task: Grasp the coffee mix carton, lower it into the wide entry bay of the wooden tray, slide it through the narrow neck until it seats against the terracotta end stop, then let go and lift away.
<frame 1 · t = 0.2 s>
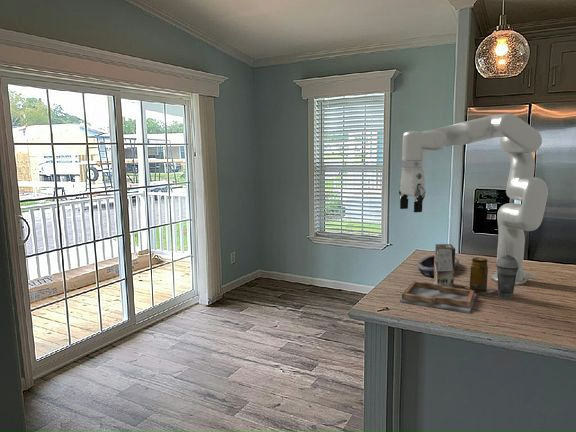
hand: (410, 210, 163), 30 cm above the counter, tool pointing down, fingers open, 9 cm apart
wooden tray: (440, 299, 155), on the counter
beverage cup: (505, 297, 156), on the counter
coffee box: (443, 286, 170), on the counter
condiment: (479, 290, 165), on the counter
dish: (438, 270, 193), on the counter
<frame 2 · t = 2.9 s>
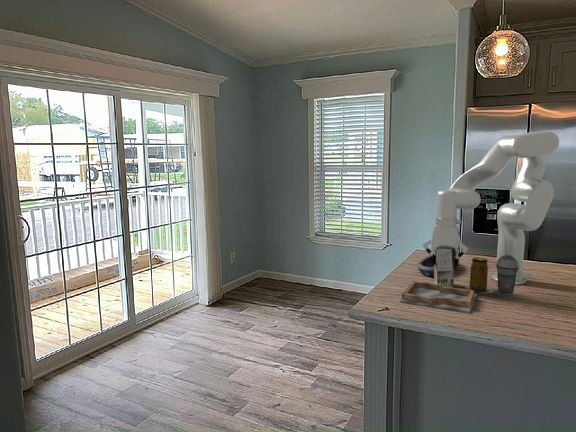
hand: (444, 266, 168), 8 cm above the counter, tool pointing down, fingers closed on coffee box, 7 cm apart
coffee box: (443, 286, 170), on the counter, touching gripper
everything else where it was.
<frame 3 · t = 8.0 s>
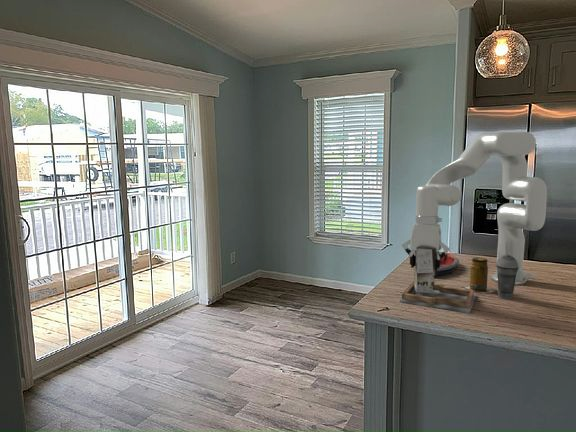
hand: (424, 267, 156), 11 cm above the counter, tool pointing down, fingers closed on coffee box, 7 cm apart
coffee box: (423, 289, 157), point 3 cm above the counter, touching gripper
everything else where it was.
when the fingers open (9 cm above the counter, at t = 12.9 s): coffee box stays where it is, resting on wooden tray.
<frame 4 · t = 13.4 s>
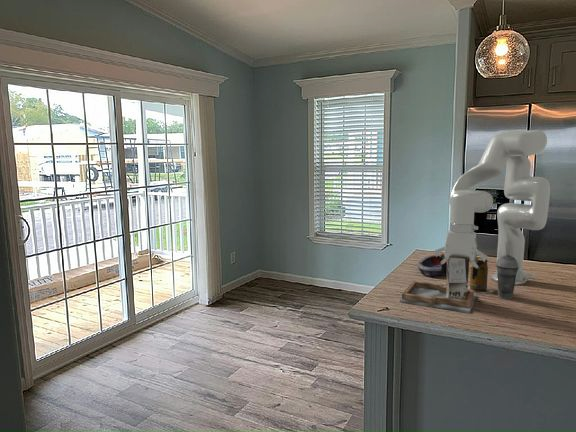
hand: (459, 276, 151), 9 cm above the counter, tool pointing down, fingers open, 9 cm apart
coffee box: (456, 299, 153), point 1 cm above the counter, touching wooden tray
everything else where it was.
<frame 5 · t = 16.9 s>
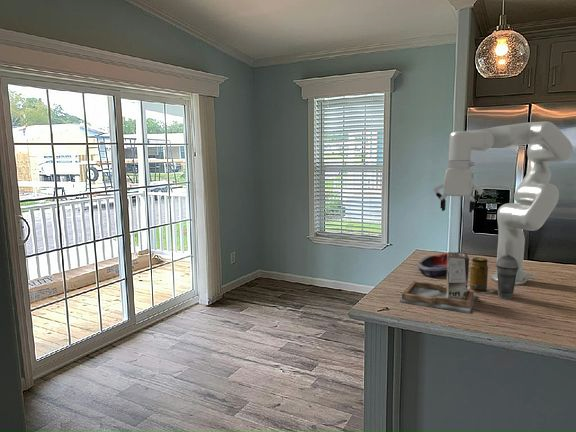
hand: (456, 211, 161), 30 cm above the counter, tool pointing down, fingers open, 9 cm apart
nothing on the counter moved.
at the end: coffee box 1.0 cm from the target spot on the wooden tray, point 0.6 cm above the wooden tray's base; coffee box tilted 0°; the gripper is holding nothing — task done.
